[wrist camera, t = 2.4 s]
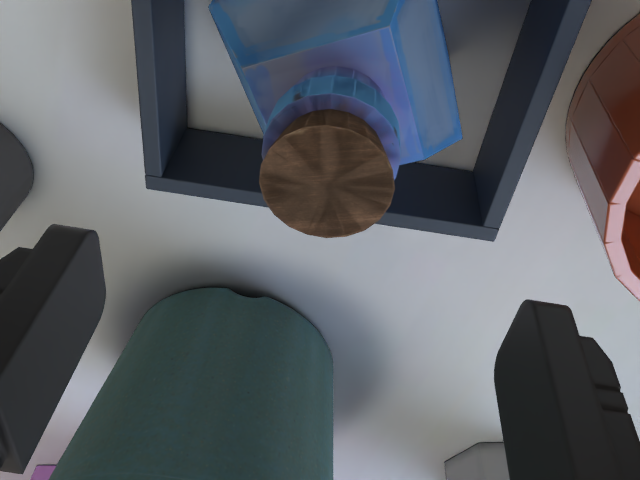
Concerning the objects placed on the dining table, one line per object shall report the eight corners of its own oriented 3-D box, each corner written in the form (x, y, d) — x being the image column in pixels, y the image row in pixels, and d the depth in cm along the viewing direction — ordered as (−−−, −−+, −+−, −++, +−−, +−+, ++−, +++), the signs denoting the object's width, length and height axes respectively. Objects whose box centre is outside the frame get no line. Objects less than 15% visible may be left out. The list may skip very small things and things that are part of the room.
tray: (155, -268, 19) (108, -266, 16) (620, -194, 19) (665, -179, 16) (172, 138, 28) (145, 189, 25) (483, 186, 28) (494, 242, 25)
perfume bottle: (303, 97, 26) (254, 298, 17) (247, -53, 22) (146, 101, 13) (449, 58, 24) (483, 258, 15) (414, -111, 21) (431, 20, 12)
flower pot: (130, 420, 43) (27, 694, 31) (67, 245, 33) (-127, 555, 21) (361, 438, 42) (349, 730, 30) (373, 262, 32) (361, 602, 19)
